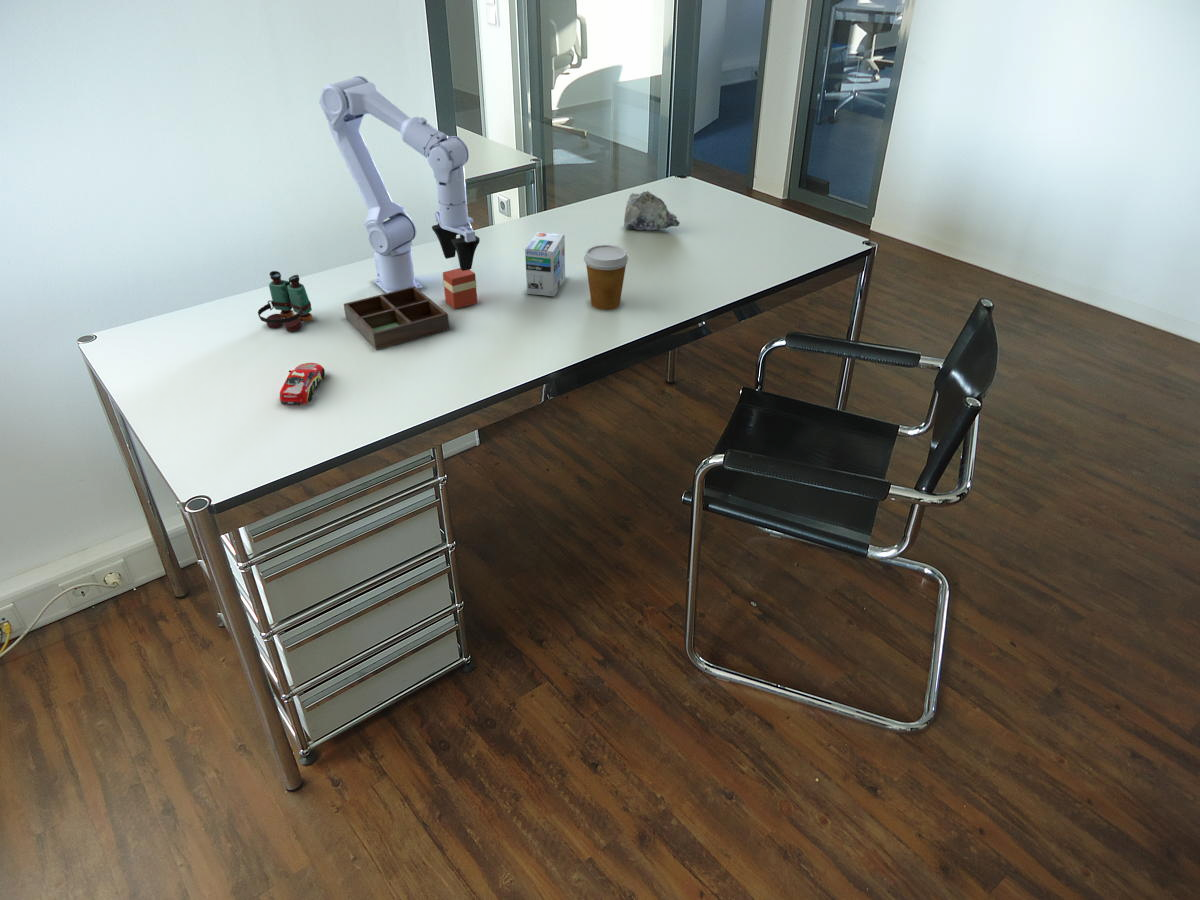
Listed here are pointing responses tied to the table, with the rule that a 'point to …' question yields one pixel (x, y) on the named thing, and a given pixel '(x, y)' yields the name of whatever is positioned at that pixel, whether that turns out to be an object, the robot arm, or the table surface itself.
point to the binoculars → (287, 303)
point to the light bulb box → (545, 264)
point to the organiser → (396, 317)
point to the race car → (301, 384)
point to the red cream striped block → (460, 288)
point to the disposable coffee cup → (605, 275)
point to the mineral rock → (648, 213)
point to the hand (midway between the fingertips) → (458, 263)
